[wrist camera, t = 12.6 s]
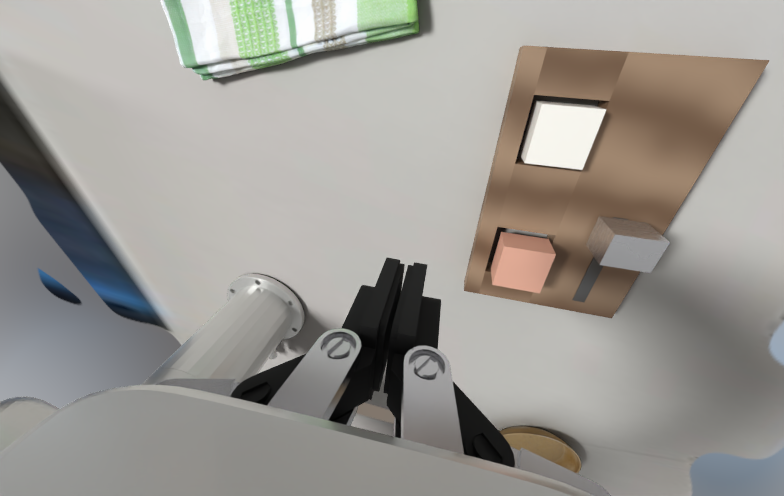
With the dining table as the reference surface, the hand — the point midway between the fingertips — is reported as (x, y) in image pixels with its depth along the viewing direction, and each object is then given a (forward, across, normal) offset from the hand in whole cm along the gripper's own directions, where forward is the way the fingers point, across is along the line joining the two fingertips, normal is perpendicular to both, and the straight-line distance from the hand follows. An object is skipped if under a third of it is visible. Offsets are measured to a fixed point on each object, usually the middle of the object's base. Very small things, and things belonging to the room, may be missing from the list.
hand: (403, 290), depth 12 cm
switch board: (+21, -14, +1) cm, 25 cm away
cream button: (+21, -10, -5) cm, 23 cm away
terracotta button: (+19, -10, +7) cm, 23 cm away
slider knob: (+18, -18, +3) cm, 26 cm away
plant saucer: (+23, -23, +45) cm, 55 cm away
